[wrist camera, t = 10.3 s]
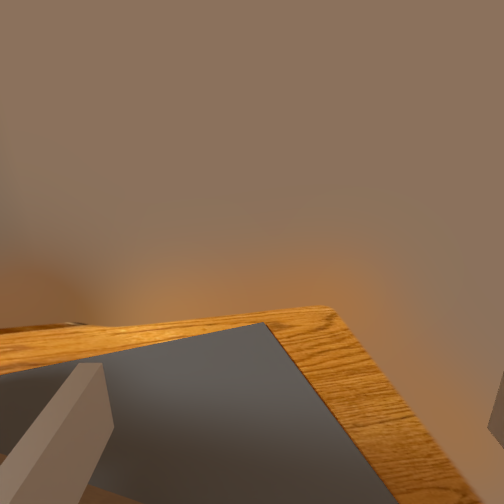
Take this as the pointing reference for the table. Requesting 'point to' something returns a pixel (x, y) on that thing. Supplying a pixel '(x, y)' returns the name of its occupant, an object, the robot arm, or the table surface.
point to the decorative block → (96, 494)
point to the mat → (208, 425)
